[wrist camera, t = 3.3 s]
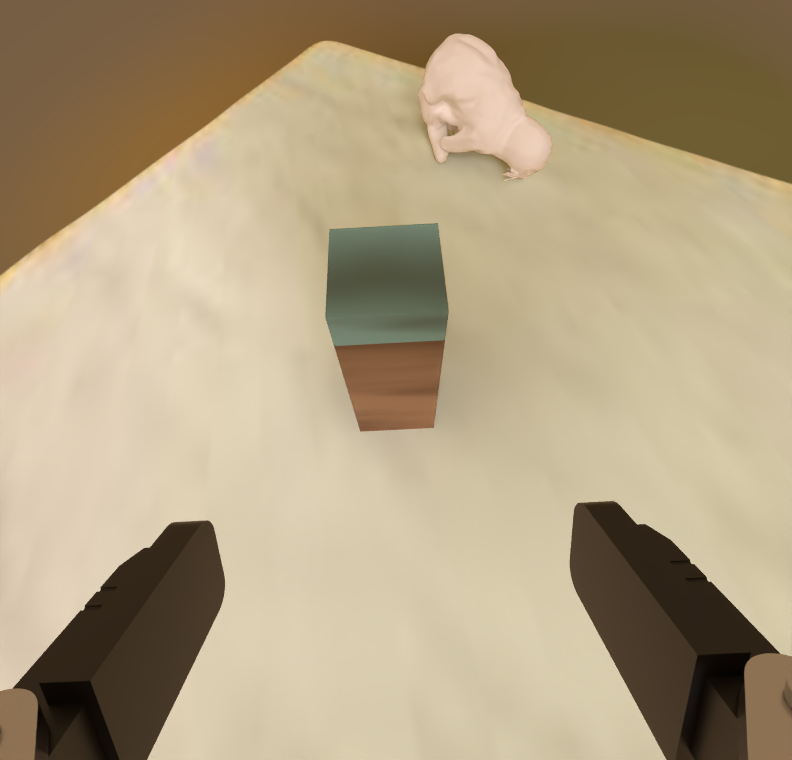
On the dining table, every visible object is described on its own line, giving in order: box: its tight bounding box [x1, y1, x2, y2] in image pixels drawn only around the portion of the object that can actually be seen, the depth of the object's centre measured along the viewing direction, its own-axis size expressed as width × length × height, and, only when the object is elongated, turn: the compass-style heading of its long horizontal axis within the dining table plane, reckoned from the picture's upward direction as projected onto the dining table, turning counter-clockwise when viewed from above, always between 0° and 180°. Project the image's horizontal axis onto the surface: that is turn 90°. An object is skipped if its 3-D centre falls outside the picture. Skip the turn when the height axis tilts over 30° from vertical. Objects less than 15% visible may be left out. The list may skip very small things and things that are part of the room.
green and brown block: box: [326, 223, 449, 431], centre depth 22 cm, size 5×5×12 cm
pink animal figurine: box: [418, 34, 552, 181], centre depth 35 cm, size 6×8×12 cm
